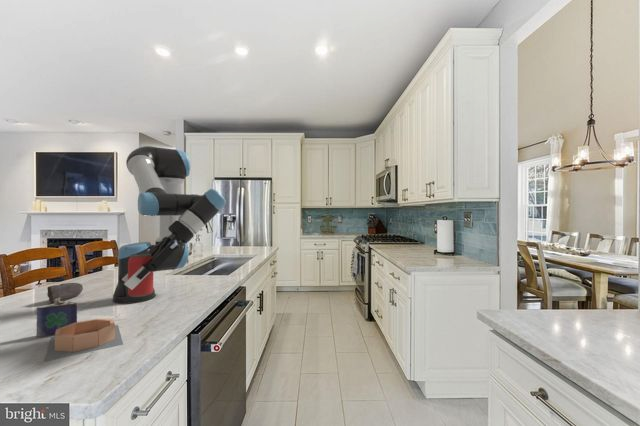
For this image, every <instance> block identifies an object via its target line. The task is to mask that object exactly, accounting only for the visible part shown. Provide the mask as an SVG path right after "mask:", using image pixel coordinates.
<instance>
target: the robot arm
mask: <svg viewBox="0 0 640 426" xmlns="http://www.w3.org/2000/svg"><path fill="white" fill-rule="evenodd" d="M125 164H126V168H127V170H128V173H129V174H130V175H132V176H133V177H134V180H135V182H136V185H137V187H138V190H139V192H140V193H139V195H138V197H137V209H138V212H139V214H140V215H142V216H151V217H155V216H159V236H158V237H157V238H156V240H155V244H151V241H142V242H141V241H139V242H134V243H130V244H129V243H128V244H125V245H122V246H120V247H119V248H118V254H117V263H118V264H117V267H118V269H117V284H116V287H115V290H114V292H113V294H112V302H113V303H115V304H122V305H123V304H135V303H136V304H137V303H142V302H145V301H150V300H152V299H153V298H155V297H156V291H155V288H154V286H153V292H152V293H151V294H149V295H146V296H141V297H132V296H129V295H128V288H130V289H131V290H133V289H134V288H135V287H136V286H137V285H138V284H139V283H140V282H141V281H142V280H143V279H144V278H145V277H146V276H147V275H148V274H149V273H150V272H152V271H153V273H155V272H162V271H171V270H172V271H174V270H178V269H183V268H184V267H185V266H186V265H187V262H188V260H189V256H190V255H189V253H190V250H189V248H190V247H189V242H190V241H191V240H192V239H193V238H194V236H195V234H196V235H197V234H198V233H199V231H201V232H202V231H203V230H204V229H203V228H204V227H205V226H206V225H207V224H208V223H209V222H210V221H211V220H212V219H214V217H215V216H216V215H217V214H218V213H219V212H221V211H222V209H223V208H224V207H225V206H226V204H227V201H226V199H225V197H224V196H223V195H222V193H220V192H219V191H218V190H215V188H210V189H208V190H207V191H205V192H204V194H201V195H200V194H192V193H191V194H182V183H184V182H185V181H186V177H189V176H190V171H191V162H190V158H189V156H188V154H187V153H186V152H185V151H183V150H178V149H175V148H174V149H173V148H166V147H157V146H149V145H148V146H147V145H146V146H140V147H138V148H136V149H134V150H132V151H131V152H130V153H129V154H128V155H127V158H126V163H125ZM139 253H150V254H151V256H152V258H151V259H150V260H149V261H148V262H147V264H145V263H144V264H142V267H141V268H140V269H139V270H138V271H137V272H136V273H135V274H134V275H133V276H132V277H131V278H130V279H129V280H128V261H129V258H130V255H132V254H139ZM143 266H144V267H143Z"/></svg>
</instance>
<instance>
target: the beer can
mask: <svg viewBox="0 0 640 426" xmlns="http://www.w3.org/2000/svg"><path fill="white" fill-rule="evenodd" d="M151 258H152V256H151V254H150V253H139V254H132V255H130V258H129V261H128V280H129V279H130V278H131V277H132V276H133V275H134V274H135V273H136V272H137V271H138V270H139V269H140V268H141V267H142V264H144V263H145V264H147V262H148V261H149V260H150V259H151ZM143 267H144V266H143ZM153 287H154V272H153V271H152V272H150V273H149V274H148V275H147V276H146V277H145V278H144V279H143V280H142V281H141V282H140V283H139V284H138V285H137V286H136V287H135V288H134V289H133V290H131V289H130V288H128V295H129V296H132V297H141V296H146V295H149V294H151V293H152V292H153Z"/></svg>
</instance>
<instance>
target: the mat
mask: <svg viewBox="0 0 640 426" xmlns="http://www.w3.org/2000/svg"><path fill="white" fill-rule="evenodd" d="M122 345H124V342H123V339H122V334H121V332H120V327H119V324H115V338H114V339H112V340H110V341H108V342H106V343H104V344H102V345H100V346H98V347H93V348H88V349H84V350H79V351H74V352H68V351H55V350H54V348H55V336H51V337H50V340H49V343H48V346H47V350H46V353H45V357H44V360H43V362H44V363H45V362H49V361H55V360H60V359H64V358H67V357H72V356H76V355H77V356H78V355H81V354H86V353H91V352H96V351H100V350H105V349H108V348H113V347H119V346H122Z"/></svg>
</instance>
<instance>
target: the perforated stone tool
mask: <svg viewBox="0 0 640 426" xmlns="http://www.w3.org/2000/svg"><path fill="white" fill-rule="evenodd" d="M83 289H84V287H83V284H81V283H78V282H67V283H60V284H56V285H55V284H54V285H49V286H47V292H46V293H47V294H46V295H47V297H48V301H49V302H50V303H54V302H55V301H54V300H55V299H57V298H60V301H63V302H64V301H66V300H70V299H73V298H76V297H77V296H79V295H80V294H81V293H82V291H83Z"/></svg>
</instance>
